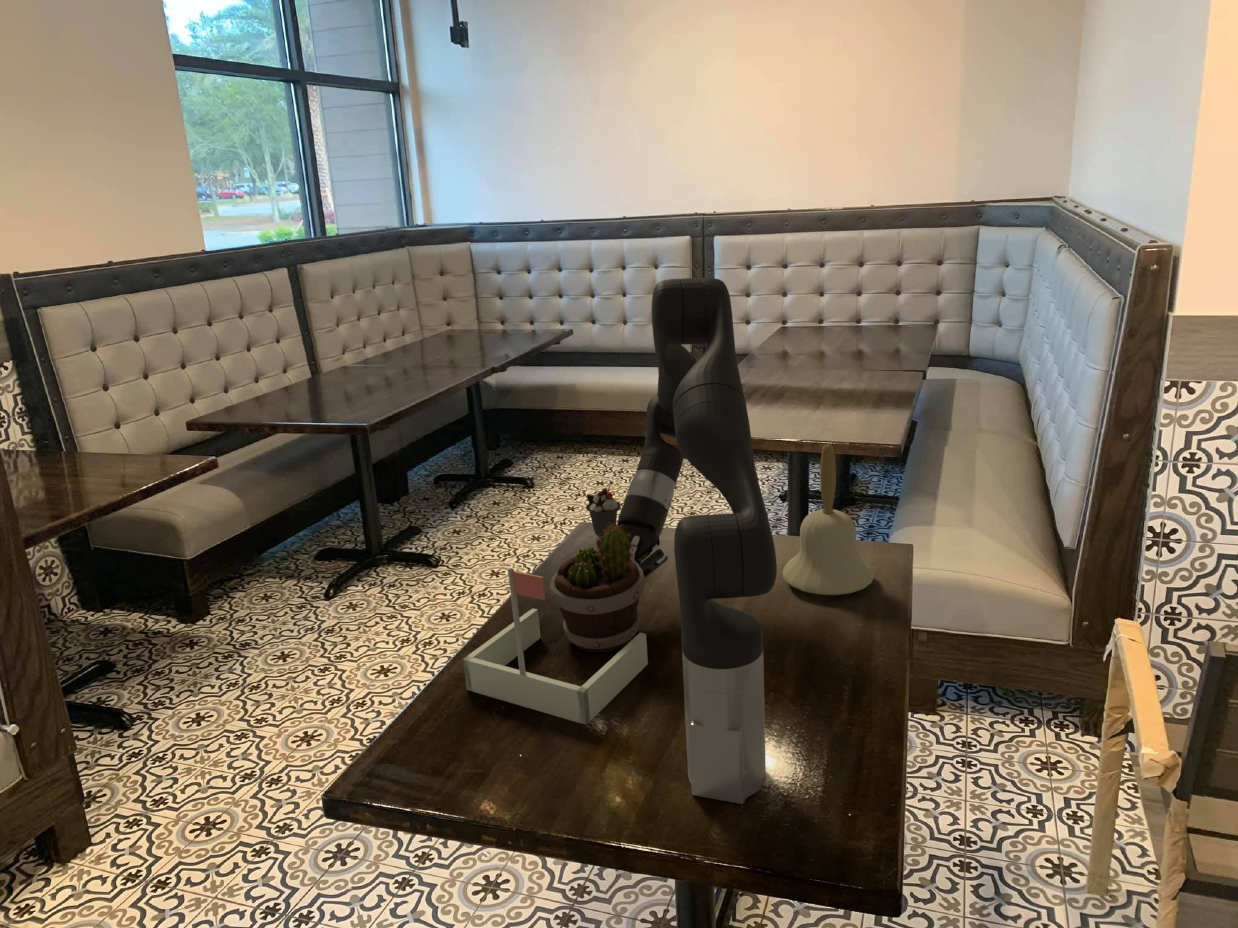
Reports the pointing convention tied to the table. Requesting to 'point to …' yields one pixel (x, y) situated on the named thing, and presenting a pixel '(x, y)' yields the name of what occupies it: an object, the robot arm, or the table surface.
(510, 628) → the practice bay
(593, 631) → the flowerpot
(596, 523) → the sundae
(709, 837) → the table surface
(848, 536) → the handbell
